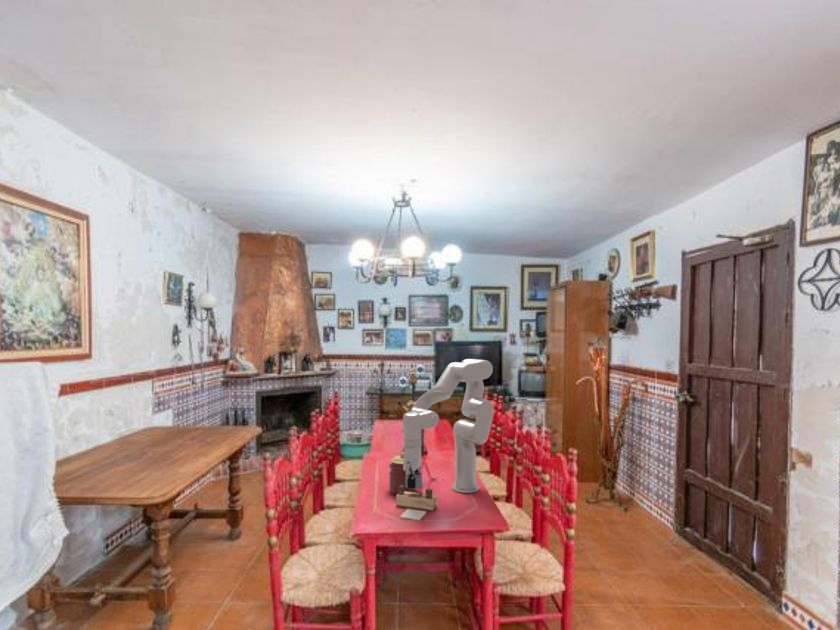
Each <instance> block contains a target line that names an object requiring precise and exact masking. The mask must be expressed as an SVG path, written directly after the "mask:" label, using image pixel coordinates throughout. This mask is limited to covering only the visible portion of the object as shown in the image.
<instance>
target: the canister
mask: <svg viewBox="0 0 840 630" xmlns="http://www.w3.org/2000/svg"><path fill="white" fill-rule="evenodd" d="M403 458H404V451H402V452H400V454H397V455H394V457H392V458H391V459H390V463H389V464H388V467H389V472H388V476H389V477H388V481H389V482H388V483H389V484H388V489H389V490H388V491H389V493H390V494H392V495H395V496H396V495H397V494H398V487H399V486H400V485H402V486H404V491H405V492H413V493H417V490H418V489H414V488H406V485H405V475H406V471H404V470H403ZM410 471H412V469H410Z"/></svg>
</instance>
